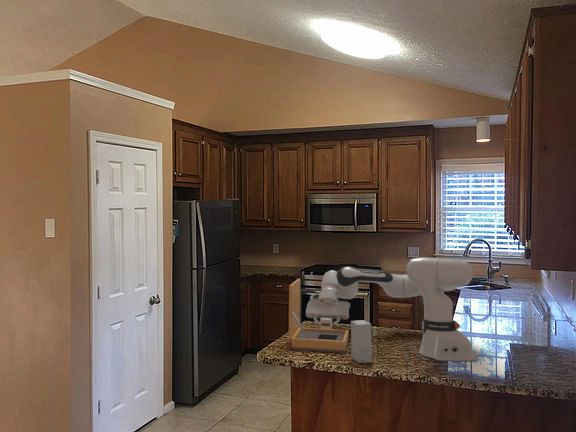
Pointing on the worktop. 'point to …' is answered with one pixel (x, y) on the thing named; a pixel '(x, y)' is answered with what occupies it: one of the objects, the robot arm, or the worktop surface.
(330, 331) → the equipment case
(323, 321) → the plate
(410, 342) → the worktop surface
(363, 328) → the skincare box
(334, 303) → the robot arm
